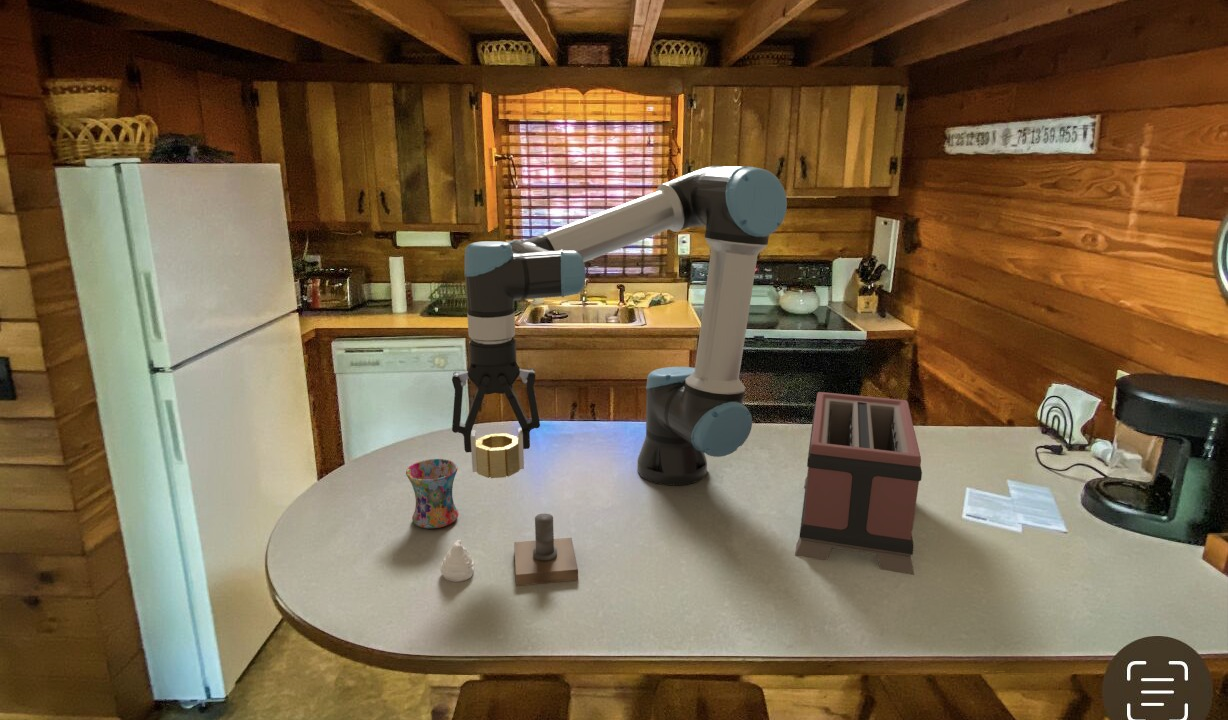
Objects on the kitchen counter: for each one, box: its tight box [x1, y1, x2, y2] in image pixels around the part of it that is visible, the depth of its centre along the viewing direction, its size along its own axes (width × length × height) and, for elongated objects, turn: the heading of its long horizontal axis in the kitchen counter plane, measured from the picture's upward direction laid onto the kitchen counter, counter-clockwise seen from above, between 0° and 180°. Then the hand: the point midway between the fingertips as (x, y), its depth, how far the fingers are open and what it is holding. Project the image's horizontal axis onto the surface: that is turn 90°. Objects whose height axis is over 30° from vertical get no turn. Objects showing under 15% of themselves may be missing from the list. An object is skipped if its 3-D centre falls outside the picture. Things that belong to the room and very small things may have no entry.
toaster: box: [794, 391, 923, 576], centre depth 135 cm, size 19×34×21 cm, turn 163°
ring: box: [476, 433, 521, 479], centre depth 123 cm, size 7×7×5 cm
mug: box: [405, 458, 459, 529], centre depth 136 cm, size 12×9×11 cm
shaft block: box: [513, 513, 579, 586], centre depth 120 cm, size 10×10×9 cm
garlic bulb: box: [439, 539, 475, 583], centre depth 118 cm, size 6×6×5 cm
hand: (498, 466), depth 124 cm, fingers closed on ring, 7 cm apart
